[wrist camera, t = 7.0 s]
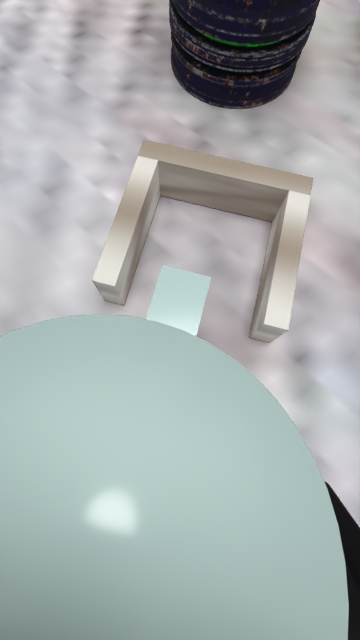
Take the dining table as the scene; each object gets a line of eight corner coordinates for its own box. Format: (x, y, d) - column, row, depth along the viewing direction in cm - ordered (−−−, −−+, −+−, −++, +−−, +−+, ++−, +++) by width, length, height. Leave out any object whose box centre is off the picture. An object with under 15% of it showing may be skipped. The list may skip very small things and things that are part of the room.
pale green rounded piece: (194, 515, 15) (308, 1101, 2) (84, 483, 15) (-347, 854, 3) (227, 362, 17) (382, 234, 4) (130, 336, 17) (17, 148, 5)
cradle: (269, 342, 18) (288, 330, 15) (104, 300, 18) (91, 280, 15) (293, 210, 20) (313, 178, 17) (147, 177, 21) (143, 139, 18)
